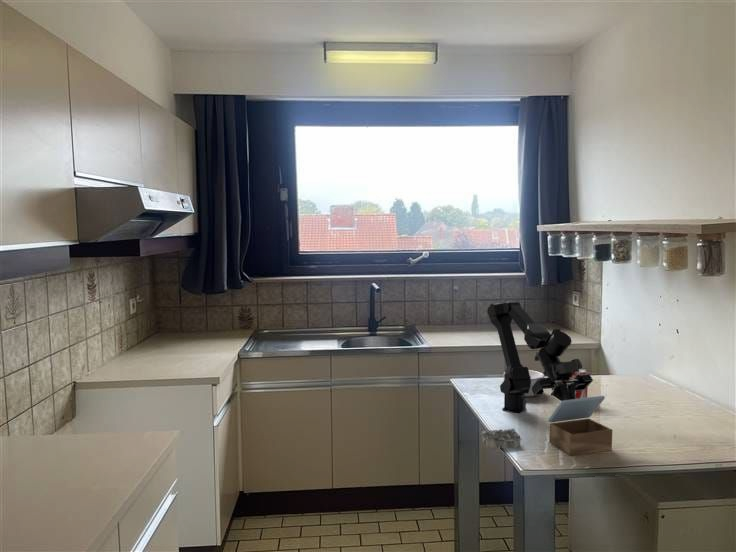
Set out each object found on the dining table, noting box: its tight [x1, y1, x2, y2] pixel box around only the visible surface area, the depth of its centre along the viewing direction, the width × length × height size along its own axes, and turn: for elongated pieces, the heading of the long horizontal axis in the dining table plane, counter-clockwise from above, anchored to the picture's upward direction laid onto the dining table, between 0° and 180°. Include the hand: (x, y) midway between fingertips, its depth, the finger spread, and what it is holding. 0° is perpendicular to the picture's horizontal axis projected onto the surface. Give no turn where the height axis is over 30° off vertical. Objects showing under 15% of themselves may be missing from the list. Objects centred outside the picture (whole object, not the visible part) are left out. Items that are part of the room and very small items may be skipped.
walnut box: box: [548, 418, 613, 457], centre depth 165 cm, size 10×14×6 cm
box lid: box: [547, 395, 606, 424], centre depth 166 cm, size 10×14×1 cm
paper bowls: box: [503, 369, 545, 397], centre depth 217 cm, size 15×15×8 cm
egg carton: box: [480, 428, 523, 450], centre depth 167 cm, size 11×8×4 cm
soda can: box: [570, 368, 589, 399], centre depth 206 cm, size 7×7×12 cm
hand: (574, 409), depth 167 cm, fingers closed, pressing on box lid
